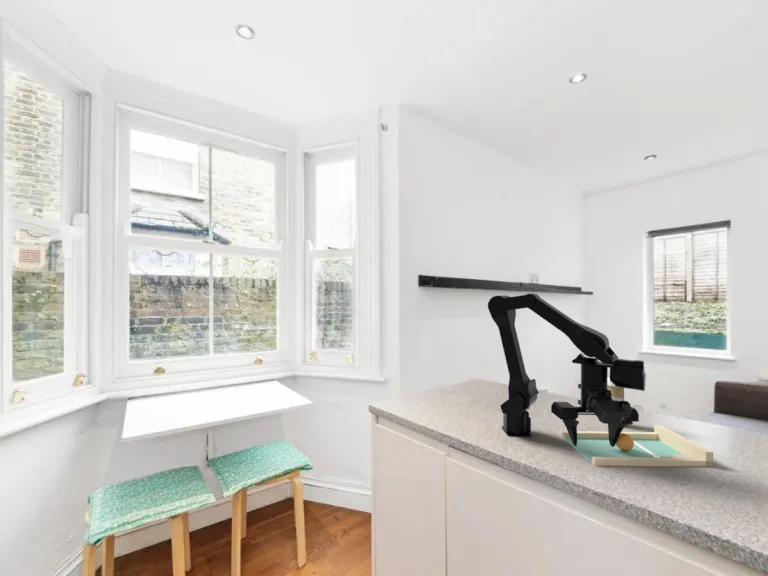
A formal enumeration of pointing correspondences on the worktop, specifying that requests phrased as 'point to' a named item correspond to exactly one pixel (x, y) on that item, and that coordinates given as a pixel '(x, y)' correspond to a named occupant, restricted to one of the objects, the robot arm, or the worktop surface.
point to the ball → (625, 442)
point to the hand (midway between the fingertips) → (593, 445)
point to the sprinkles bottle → (615, 391)
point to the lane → (641, 449)
